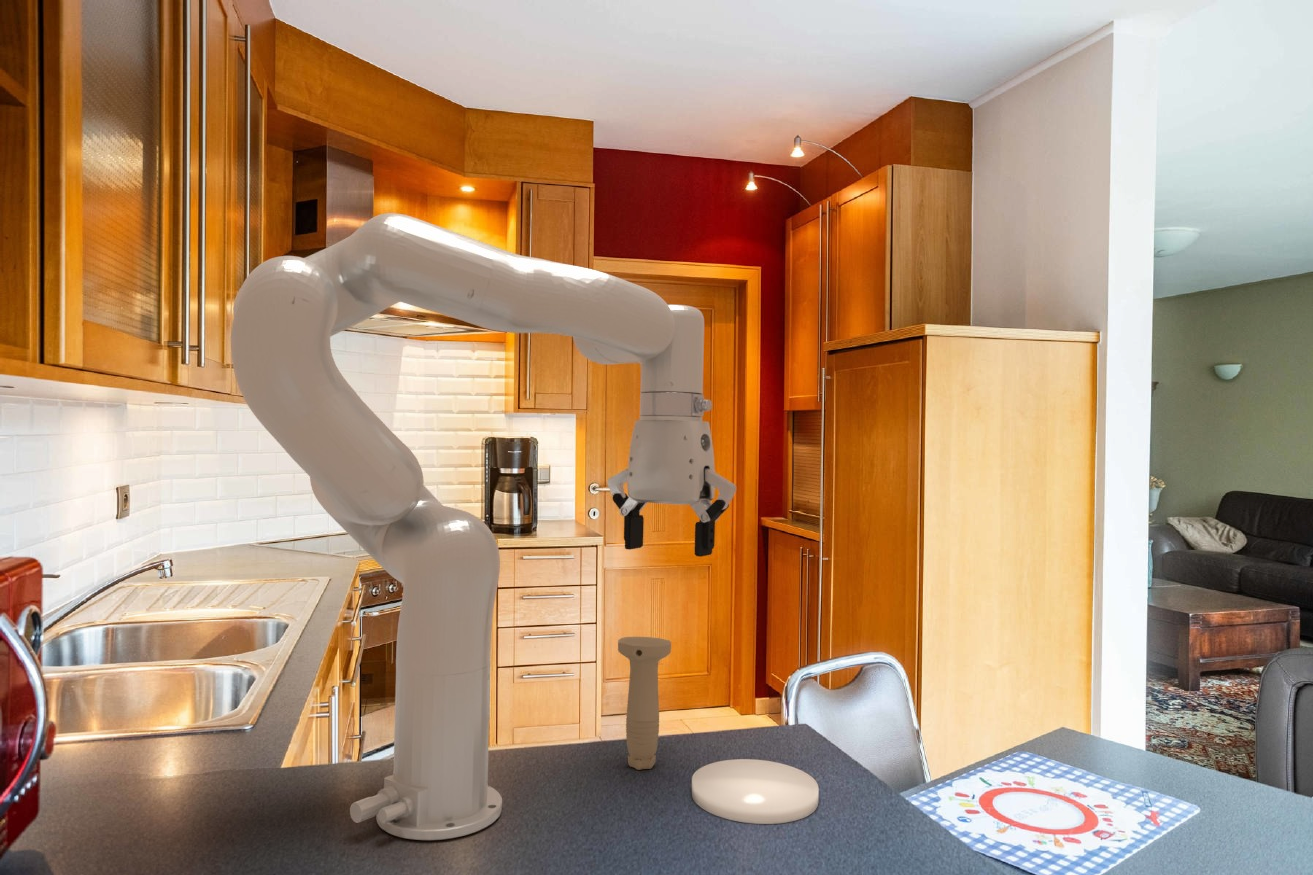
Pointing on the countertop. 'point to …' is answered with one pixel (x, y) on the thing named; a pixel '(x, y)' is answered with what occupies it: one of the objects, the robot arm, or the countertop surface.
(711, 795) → the plate
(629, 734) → the handle
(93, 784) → the countertop surface
